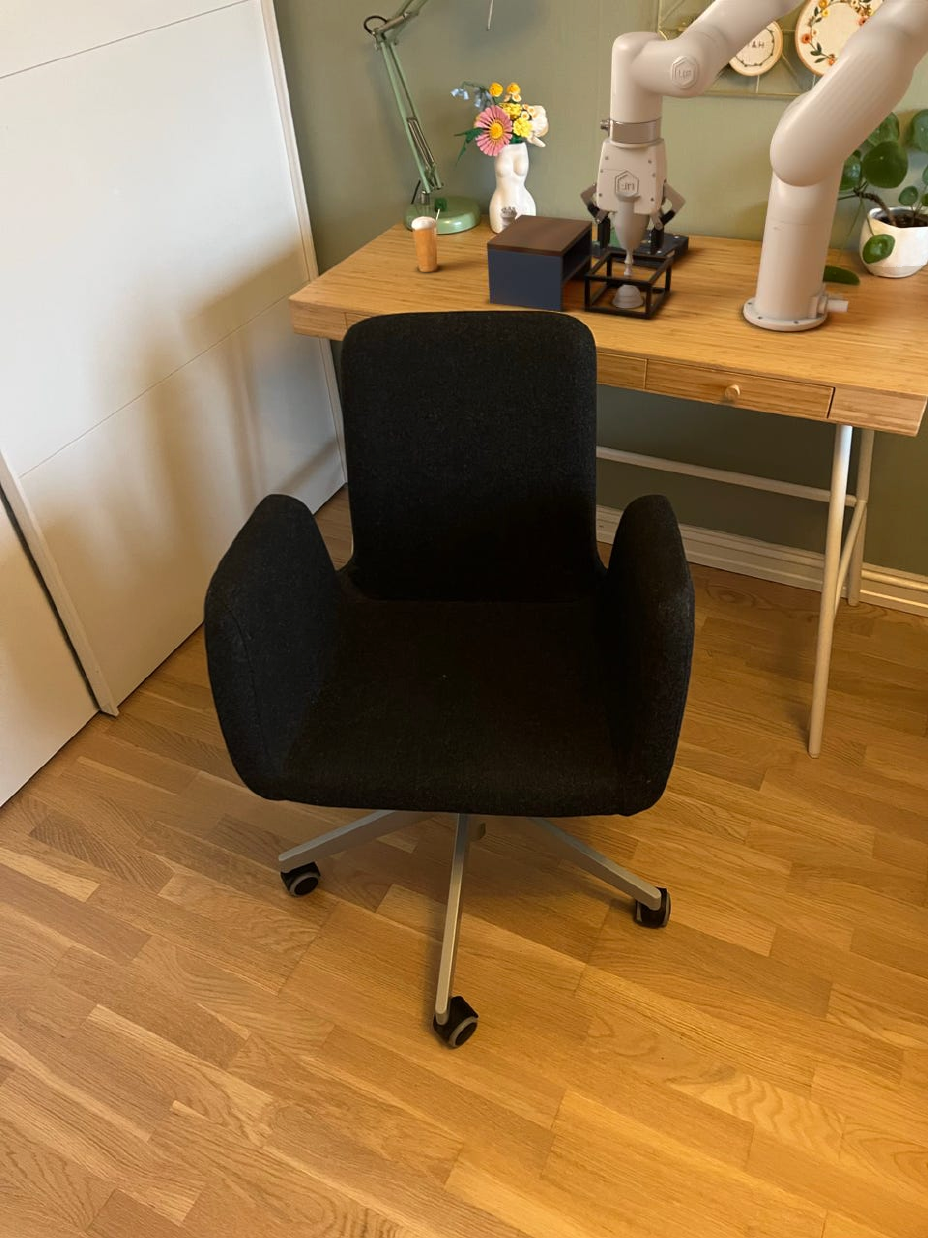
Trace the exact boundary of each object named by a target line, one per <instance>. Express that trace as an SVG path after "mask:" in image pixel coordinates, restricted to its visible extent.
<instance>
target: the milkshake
mask: <svg viewBox="0 0 928 1238" xmlns="http://www.w3.org/2000/svg"><path fill="white" fill-rule="evenodd" d="M440 211H441V209H438V211H437V214H436V217H435V218H433V217H431V216H423V215H422V216H420V217H416V218H415V219H414V220H413V221H412V222H411V230H412V235H413V240H414V244H415V249H416V255H417V260H418V266H419V267H418V268H419V271H420V272H422V273H432V272H435V271H437V269H438V222H437V221H438V219H439V215H440Z"/></svg>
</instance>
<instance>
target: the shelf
mask: <svg viewBox="0 0 928 1238" xmlns="http://www.w3.org/2000/svg"><path fill="white" fill-rule="evenodd" d="M592 241H593V220H584V219H574V218H563V217H553V216H543V215H542V216H541V215H532V214H520V215H519V216H518V217H517V218H515V220H514V221H513V222H512V223H511V224H509V225H508V226H507V227H506V228H505V229H503V230H502V229H501V231H500V232H498V233H497V234H496V235H494V237H492V238H491V239H490V240H489V241H488V242H487V243H486V252H487V253H486V254H487V271H488V273H487V274H488V286H489V287H488V288H489V290H488V291H489V303H493V304H500V305H507V306H514V307H522V308H528V309H536V310H543V311H551V312H558V313H562V312H563V310H564V307H563V306H564V291H563V289H564V286H565V285H566V284H567V283H568V282H569V281H570V280H574V281H583V282H585V274H586V273H587V272H588V271H589V270H590V269H591V268H592V267H593V266H592V264H593V263H592V260H593V255H592Z"/></svg>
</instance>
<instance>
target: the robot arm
mask: <svg viewBox="0 0 928 1238" xmlns="http://www.w3.org/2000/svg"><path fill="white" fill-rule="evenodd" d="M805 1H806V0H714V1H713V2H712V3H711V4H710V5H709V6H708V7H707V8H706V9H705V10H704V11H703V12H702V13H701V14H700V15H699V16H698V17H697V18H696V19H695V20H694V21H693V22H692V23H691V24H690V25H689V26H688V27H687V28H686V29H685V30H684V31H682V33H680V34H679V36H678V37H676V38H673V39H665V38H664V36H663V35H662V34H661V33H658V32H655V31H631V32H627V33H623V34H621V35H619V36H617V38H615V40H614V42H613V44H612V49H611V67H610V68H611V71H610V72H611V73H610V104H609V105H610V107H609V117H608V118H607V119H601V122H600V130H603V131H606V132H607V138H605V139H604V140H603V142H602V146H601V152H600V157H599V166H598V172H597V173H598V174H597V181H595V182H594V183H593V184H591V185H590V186H588V187H586V188H585V189H583V191H582V192H581V193H580V199H581V200H582V202H583V204H584V205H585V206H586V209H587V211H588V213H589V214H590V215H591V216H592V217H593V219H594V223H596V224H597V227H596V228H597V229H596V230H597V231H596V240H597V241H598V242H599V249H602V250H603V249H605V248H606V247H607V245H608V244H609V243H610V229H612V226H611V225H612V221H611V220H612V219H611V218H610V217H609V215H610V213H613V212H615V213H616V212H619V200H618V199H617V198H616V196H615V195H614V194H616V195H620V196H629V197H633V196H640V197H639V199H638V200H637V201H636V202H634V213H636V214H638V215H649V216H650V221H651V222H652V224H653V228H652V229H650V230H651V243H650V254H651V255H655V254H656V253H657V252H658V251H659V249H660V248H662V246H663V242H664V232H665V227H666V225H667V224H668V223H669V222H670V221H672V220H673V219H674V218H675V217H676V216H677V214H678V213H679V212H680V210H681V209H682V208H683V207H684V205H685V204H686V199H685V198H684V197H683V196H682V195H681V194H680V193H679V192H678V191H676V190H675V189H674V188H673V187H672V186H671V185H669V183H668V162H667V161H668V159H667V150H666V141H665V138H663V137H661V134H662V122H663V121H662V118H663V103H664V101H663V100H664V96H667V97H671V98H675V99H693V98H696V97H698V96H700V95H701V94H703V93H704V92H705V91H706V90H707V89H708V88H710V86H711V84H712V83H713V81H714V80H715V79H716V77H717V76H718V74H719V73H720V72H721V71H722V70H723V69H724V67H726V66H727V65H728V64H729V63H730V62H731V61H732V60H733V59H734V58H735V57H736V56H737V55H738V54H739V53H740V52H741V51H742V50H743V49H744V48H745V47H746V46H748V45H749V44H750V42H752V41H753V40H754V39H755V38H756V37H757V36H759V34H761V33H762V32H763V31H764V30H766V29H767V28H768V27H769V26H770V25H771V24H773V23H774V22H776V21H777V20H779V19H781V18H784V17H785V16H788V15H789V14H791V13H792V12H793V11H794V10H795V9H797V8H798V7H799V6H801V5H802V4H803V3H804V2H805ZM927 53H928V0H883V1H882V3H880V5H878V7H877V8H876V9H875V10H874V11H873V13H871V15H869V17H868V18H867V19H866V21H865V22H864V23H862V24H861V25H860V26H859V28H857V29H856V31H854V32H853V33H852V35H850V36H849V38H848V39H847V40H846V41H845V43H844V45H843V46H842V48H841V50H840V52H839V55H838V57H837V58H836V60H835V61H834V63H833V64H832V65H831V66H830V67H829V69H828V70H827V71H826V72H825V73H824V74H823V76H821V78H820V79H819V80H818V81H817V83H816V84H815V85H814V86H813V87H812V89H810V90H808V91H805V92H803V93H801V94H800V95H798V96H797V97H795V99H793V100H792V101H791V102H790V103H789V105H788V106H787V107H786V108H785V110H784V111H783V113H782V115H781V117H780V119H779V121H778V124H777V126H776V128H775V131H774V133H773V136H772V139H771V142H770V146H769V162H770V165H771V168H772V175H771V182H770V188H769V196H768V201H767V202H768V203H767V210H766V216H765V224H764V231H763V237H762V246H761V253H760V261H759V268H758V276H757V283H756V289H755V290H756V291H755V295H754V296H753V297H751V298H750V299H748V300H747V301H746V302H745V303H744V305H743V317H744V318H745V319H746V320H747V321H748V322H749V323H751V324H753V325H755V326H758V327H760V328H763V329H766V330H771V331H779V332H781V331H782V332H797V331H805V330H809V329H812V328H815V327H818V326H819V325H821V324H823V323H824V322H825V321H826V319H827V317H828V312H829V313H833V314H839V315H847V313H848V310H849V305H850V301H849V300H844V295H840V294H829V291H826V288H827V283H824V282H823V279H824V273H825V268H826V263H827V257H828V251H829V246H830V240H831V234H832V230H833V229H832V228H833V225H834V223H833V222H834V218H835V215H836V210H837V203H838V198H839V191H840V187H841V181H842V178H843V177H842V176H843V170H844V166H845V162H846V161H847V160H848V158H850V157H851V156H852V155H853V153H854V152H855V151H856V150H857V149H858V148H859V147H860V146H861V145H862V144H863V143H864V142H865V141H866V140H867V138H869V137H870V136H871V134H873V133H874V131H875V130H876V129H878V127H879V126H880V125H881V124H882V123H883V122H884V121H885V119H886V118H887V117H888V116H889V115H890V114H891V113H892V112H893V111H894V109H896V107H897V106H898V105H899V103H900V102H901V100H902V99H903V98H904V97H905V95H906V93H907V91H908V90H909V88H910V86H911V84H912V80H913V78H914V77H913V76H914V74H915V73H914V72H915V69H916V67H917V66H918V64H919V63H920V61H921V60H922V59H923V58H924V57H925V56H926V54H927ZM613 193H614V194H613ZM594 194H596V195H595V196H596V197H594ZM667 200H668V201H669V202H670V203H671V208H669V210H668V211H667V212H665V210H664V208H663V206H664V205H665V204H666V201H667Z"/></svg>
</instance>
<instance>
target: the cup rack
mask: <svg viewBox="0 0 928 1238" xmlns="http://www.w3.org/2000/svg"><path fill="white" fill-rule="evenodd" d="M632 256H633V260H641V261H650V262H660V263H663V264H662V265H661V266H660V267H659V268H657V270H656V271H655V272H654V273H653V274H652V276H651V277H650V278H649V279H648V280H643V279H635V278H631V279H628V278H626V277H619V276H613V261H614V260H613V257H614V258H623V259H626V257H627V252H618V251H608V252H607V253H606V254H605V255H604V256H603V257H602V258H600V259H599V260H598V261H597V262H595V264H594V265H593V266H592V268H591V269H590V270H589V271H588V272H587V273H586V274H585V281H583V282H584V286H583V287H584V288H583V289H584V290H583V291H584V292H583V294H584V295H583V312H587V313H596V314H603V315H611V316H617V317H625V318H631V319H639V320H640V319H641V320H650V319H651V318H652V317H653V316H654V314H655V313H656V312H657V311H658V309H659V308H660V307H661V305H662V304H663V302H664V301H665V300H666V299H667V298H668V297H669V295H670V294H671V288H672V286H671V285H672V274H673V272H672V271H673V262H674V261H673V257H665V256H655V255H646V254H637V253H632ZM605 265H606V267H605V268H606V270H605V272H606V273H605V275H601V274H597V273H598V272H599V271H600V270H601V269H602V268H603V267H604V266H605ZM664 273H665V280H664V287H661V286H655V284H656V283H657V281H658V280H659V279H660V278H661V277H662V275H663V274H664ZM591 282H596V283H597V282H598V283H604V284H603V285H602V286H601V288H599V290H598V291H597V292H596V293H595V294H594V295H593V296H592V297H591V288H592V286H591V285H592V283H591ZM623 285H630V286H635V287H637V288H638V290H639V292H644V293H645V303H644V304H645V306H644V312H643V311H636V310H629V309H623V308H614V307H606V306H598V305H596V304H597V303H598V302H599V301H600V300H601V298H602V297H603V296H604V295H605V294H606V293H607V292H608V290H610V288H611V289H617V290H618V289H619V288H620V287H621V286H623ZM653 294H660V295H659V296H658V297H657V299H656V300H655V302H654V303H652V301H653Z"/></svg>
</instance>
